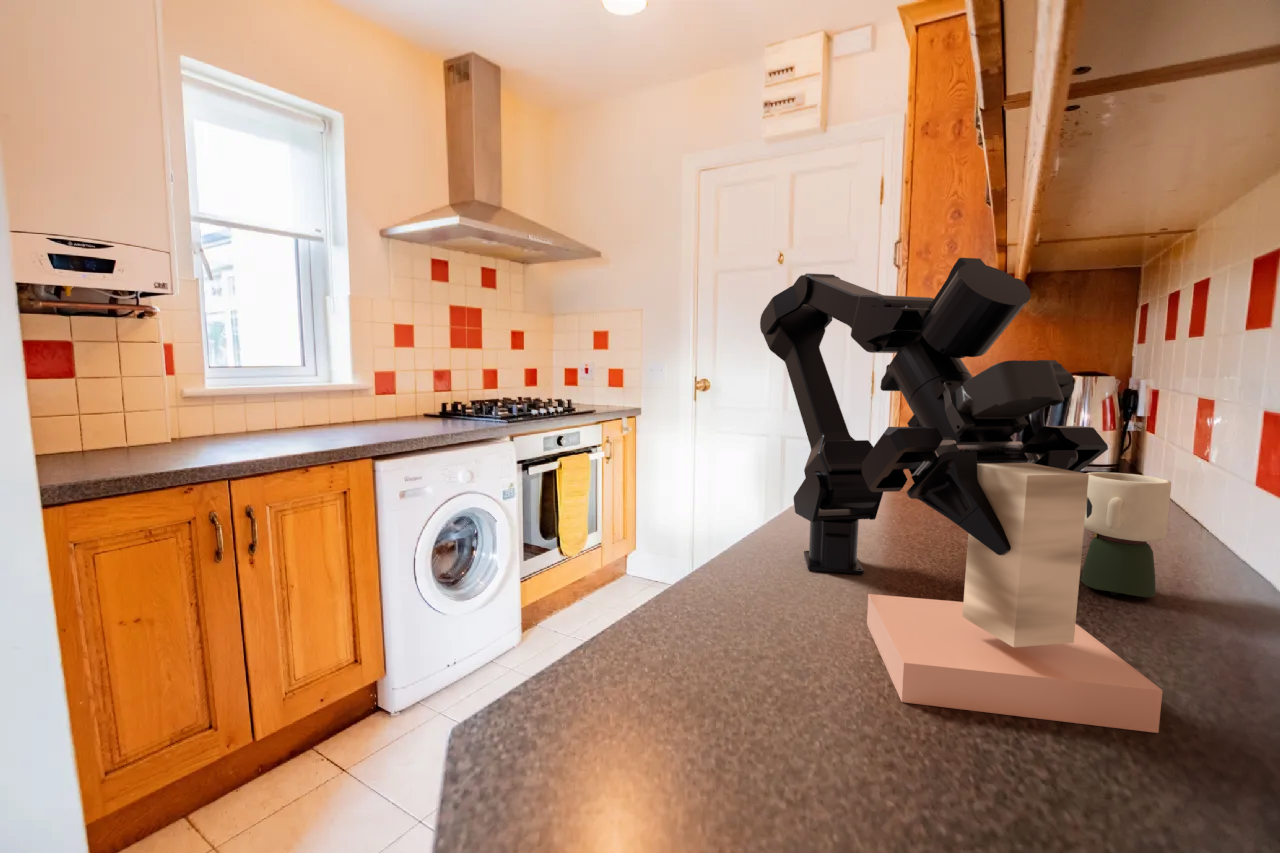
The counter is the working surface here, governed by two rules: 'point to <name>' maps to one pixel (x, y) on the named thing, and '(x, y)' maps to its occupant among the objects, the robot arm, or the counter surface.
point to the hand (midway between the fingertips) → (1037, 551)
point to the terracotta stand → (1006, 669)
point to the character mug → (1124, 531)
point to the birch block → (1028, 555)
